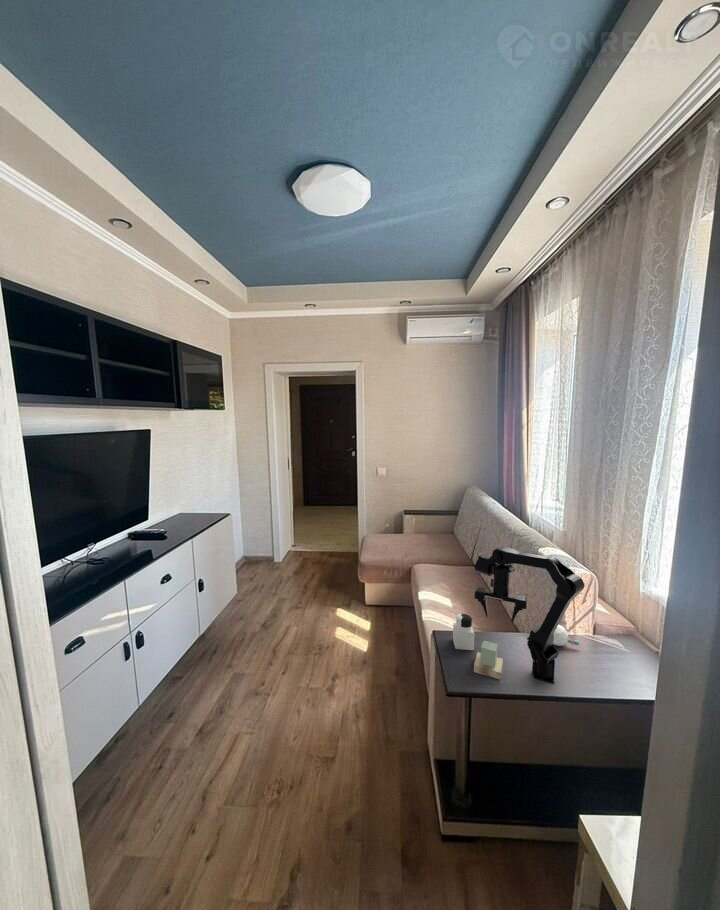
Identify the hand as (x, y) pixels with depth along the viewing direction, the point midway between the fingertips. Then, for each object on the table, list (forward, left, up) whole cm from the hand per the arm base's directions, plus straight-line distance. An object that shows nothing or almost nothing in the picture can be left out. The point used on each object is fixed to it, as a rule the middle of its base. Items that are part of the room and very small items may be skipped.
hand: (499, 619), depth 143 cm
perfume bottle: (-23, -17, -13) cm, 32 cm away
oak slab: (+2, +13, -14) cm, 19 cm away
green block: (+2, +13, -10) cm, 17 cm away
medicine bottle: (+13, +2, -13) cm, 19 cm away
